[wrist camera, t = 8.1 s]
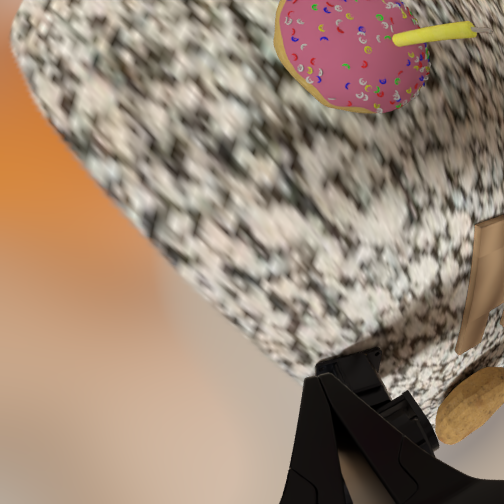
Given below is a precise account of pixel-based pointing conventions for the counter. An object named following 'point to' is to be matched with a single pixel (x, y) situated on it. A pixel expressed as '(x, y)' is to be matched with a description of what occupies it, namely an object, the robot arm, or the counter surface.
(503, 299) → the lane board
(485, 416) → the potato
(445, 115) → the counter surface
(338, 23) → the cupcake
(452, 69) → the counter surface
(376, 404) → the robot arm
